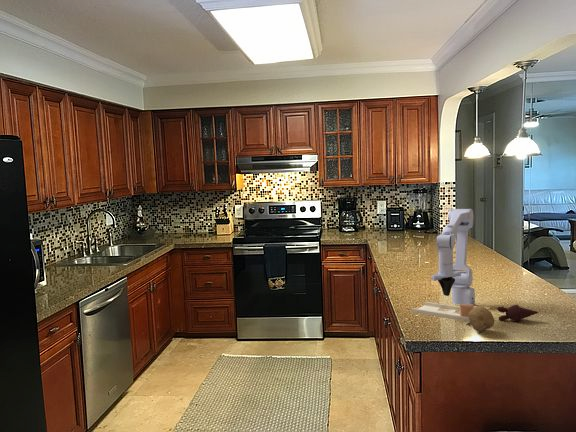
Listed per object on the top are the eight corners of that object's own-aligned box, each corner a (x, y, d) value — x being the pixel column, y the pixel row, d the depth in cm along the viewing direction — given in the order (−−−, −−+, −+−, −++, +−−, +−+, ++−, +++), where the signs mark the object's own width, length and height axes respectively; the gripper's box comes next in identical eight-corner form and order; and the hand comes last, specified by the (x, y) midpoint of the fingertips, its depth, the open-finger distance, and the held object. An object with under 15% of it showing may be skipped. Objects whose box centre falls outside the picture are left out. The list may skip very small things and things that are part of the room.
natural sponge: (488, 327, 188) (487, 302, 187) (498, 335, 180) (498, 309, 179) (465, 329, 188) (464, 304, 187) (474, 336, 179) (474, 310, 178)
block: (472, 314, 200) (472, 304, 200) (474, 318, 195) (474, 307, 195) (459, 314, 202) (459, 304, 201) (461, 318, 197) (461, 307, 196)
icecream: (535, 303, 196) (495, 305, 200) (538, 303, 189) (497, 305, 193) (537, 320, 195) (497, 322, 199) (541, 321, 188) (499, 323, 192)
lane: (483, 317, 201) (483, 309, 201) (472, 325, 191) (471, 317, 191) (425, 307, 218) (424, 300, 218) (411, 315, 208) (411, 307, 208)
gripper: (452, 259, 207) (452, 290, 208) (425, 263, 200) (426, 295, 202) (464, 262, 200) (464, 294, 201) (437, 266, 194) (438, 299, 195)
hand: (446, 295), depth 201 cm, fingers closed
